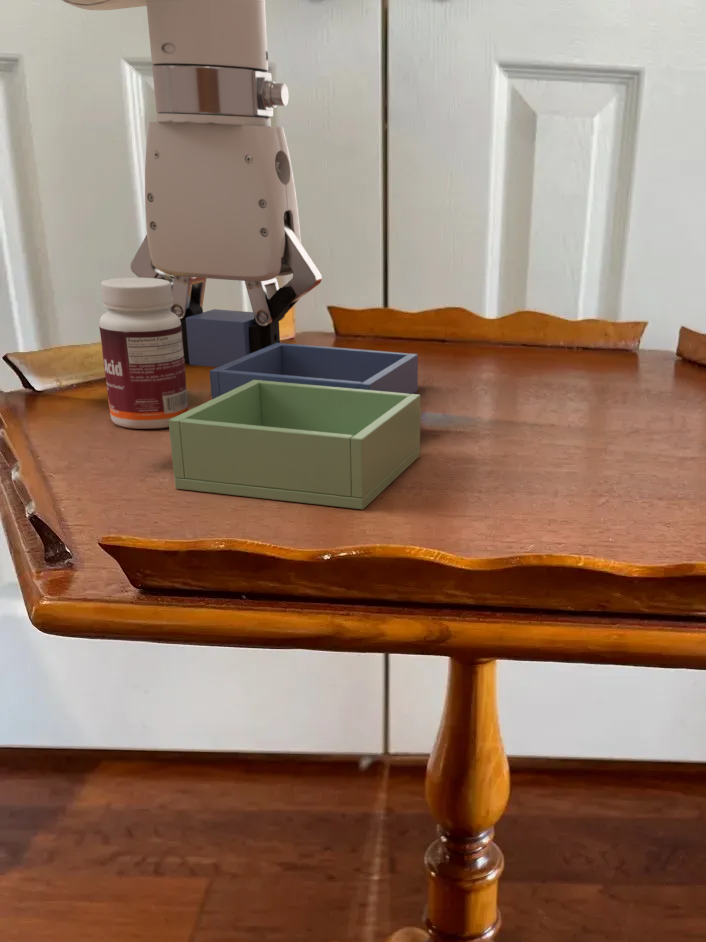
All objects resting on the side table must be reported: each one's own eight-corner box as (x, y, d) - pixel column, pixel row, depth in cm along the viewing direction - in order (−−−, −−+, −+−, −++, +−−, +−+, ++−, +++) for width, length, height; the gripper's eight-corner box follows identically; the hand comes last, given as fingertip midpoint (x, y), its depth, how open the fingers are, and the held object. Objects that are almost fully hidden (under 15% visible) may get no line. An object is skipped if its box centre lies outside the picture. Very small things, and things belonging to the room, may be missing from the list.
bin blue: (213, 429, 64) (209, 370, 62) (279, 394, 72) (276, 342, 71) (370, 444, 62) (369, 384, 60) (417, 407, 71) (418, 354, 69)
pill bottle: (104, 415, 66) (87, 277, 62) (180, 409, 68) (167, 275, 64) (118, 433, 62) (100, 287, 58) (197, 426, 64) (185, 285, 60)
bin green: (174, 489, 53) (168, 419, 51) (257, 439, 62) (253, 379, 60) (363, 510, 51) (362, 438, 49) (420, 456, 60) (420, 394, 58)
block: (190, 380, 75) (185, 317, 73) (218, 369, 79) (213, 309, 77) (247, 386, 75) (243, 322, 73) (272, 374, 78) (269, 313, 76)
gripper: (351, 107, 71) (355, 374, 79) (128, 99, 74) (154, 357, 82) (311, 102, 64) (320, 395, 72) (68, 94, 67) (103, 375, 75)
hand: (232, 372), depth 77 cm, fingers closed on block, 4 cm apart
